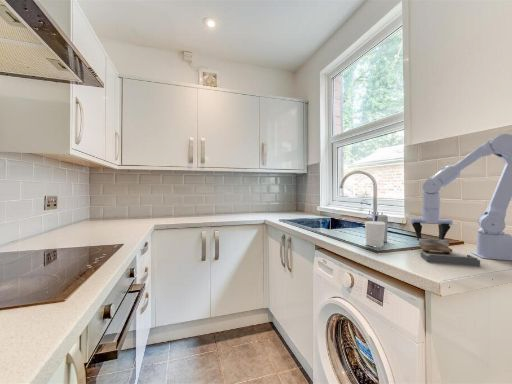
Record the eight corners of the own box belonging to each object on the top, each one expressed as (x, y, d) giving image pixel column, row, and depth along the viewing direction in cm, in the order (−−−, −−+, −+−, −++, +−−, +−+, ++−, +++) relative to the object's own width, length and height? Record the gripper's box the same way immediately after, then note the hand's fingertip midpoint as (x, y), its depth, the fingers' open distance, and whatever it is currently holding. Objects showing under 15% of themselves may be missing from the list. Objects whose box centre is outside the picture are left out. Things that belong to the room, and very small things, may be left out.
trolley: (447, 251, 96) (448, 240, 96) (453, 255, 91) (454, 243, 91) (418, 249, 99) (418, 238, 99) (422, 252, 94) (423, 241, 94)
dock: (463, 256, 90) (463, 249, 89) (479, 266, 79) (480, 258, 79) (416, 253, 94) (416, 246, 94) (426, 261, 84) (427, 254, 84)
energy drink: (371, 240, 115) (372, 214, 115) (380, 239, 117) (380, 214, 117) (380, 242, 110) (381, 216, 110) (389, 241, 112) (390, 215, 112)
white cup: (360, 244, 107) (361, 221, 106) (372, 242, 111) (372, 220, 110) (377, 248, 100) (377, 224, 100) (388, 246, 104) (389, 223, 103)
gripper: (447, 208, 102) (446, 240, 103) (407, 207, 106) (407, 237, 107) (455, 210, 95) (454, 244, 96) (412, 208, 100) (411, 241, 100)
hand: (429, 241), depth 101 cm, fingers open, 7 cm apart
